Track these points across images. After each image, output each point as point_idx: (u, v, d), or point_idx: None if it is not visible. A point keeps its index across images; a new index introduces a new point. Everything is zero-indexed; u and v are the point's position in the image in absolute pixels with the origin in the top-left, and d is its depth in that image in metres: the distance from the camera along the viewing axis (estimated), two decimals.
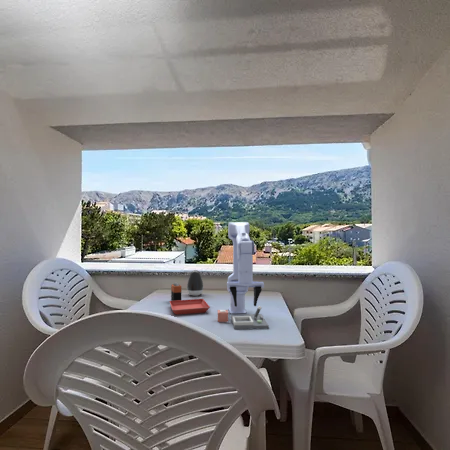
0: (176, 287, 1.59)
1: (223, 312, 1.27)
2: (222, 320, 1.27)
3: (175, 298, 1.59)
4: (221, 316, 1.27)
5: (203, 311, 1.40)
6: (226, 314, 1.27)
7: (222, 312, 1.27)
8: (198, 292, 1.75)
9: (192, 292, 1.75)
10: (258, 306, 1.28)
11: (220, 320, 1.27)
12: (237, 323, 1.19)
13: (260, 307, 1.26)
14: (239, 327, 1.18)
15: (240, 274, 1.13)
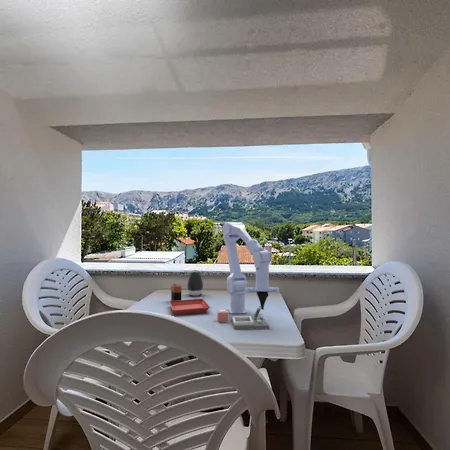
0: (176, 287, 1.59)
1: (223, 312, 1.27)
2: (222, 320, 1.27)
3: (175, 298, 1.59)
4: (221, 316, 1.27)
5: (203, 311, 1.40)
6: (226, 314, 1.27)
7: (222, 312, 1.27)
8: (198, 292, 1.75)
9: (192, 292, 1.75)
10: (258, 306, 1.28)
11: (220, 320, 1.27)
12: (237, 323, 1.19)
13: (260, 307, 1.26)
14: (239, 327, 1.18)
15: (258, 280, 1.26)
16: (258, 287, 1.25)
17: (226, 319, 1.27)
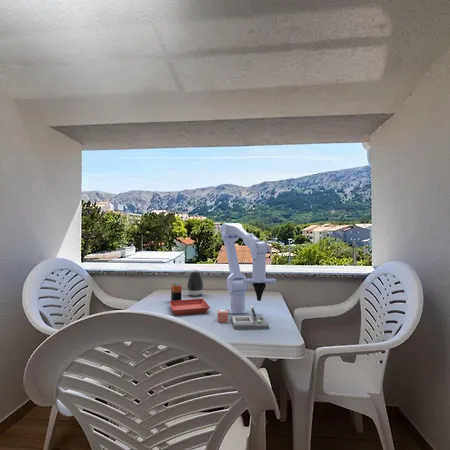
0: (176, 287, 1.59)
1: (223, 312, 1.27)
2: (222, 320, 1.27)
3: (175, 298, 1.59)
4: (221, 316, 1.27)
5: (203, 311, 1.40)
6: (226, 314, 1.27)
7: (222, 312, 1.27)
8: (198, 292, 1.75)
9: (192, 292, 1.75)
10: (250, 307, 1.27)
11: (220, 320, 1.27)
12: (237, 323, 1.19)
13: (252, 306, 1.26)
14: (239, 327, 1.18)
15: (254, 272, 1.26)
16: (255, 278, 1.25)
17: (226, 319, 1.27)
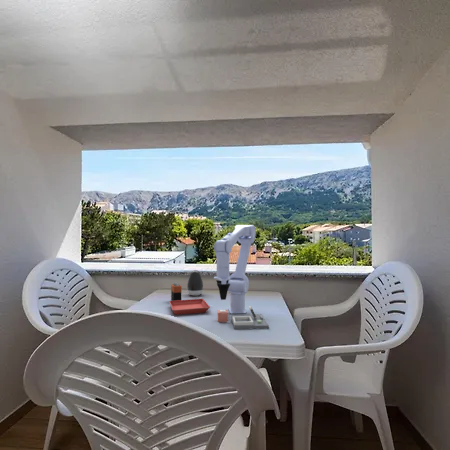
0: (176, 287, 1.59)
1: (223, 312, 1.27)
2: (222, 320, 1.27)
3: (175, 298, 1.59)
4: (221, 316, 1.27)
5: (203, 311, 1.40)
6: (226, 314, 1.27)
7: (222, 312, 1.27)
8: (198, 292, 1.75)
9: (192, 292, 1.75)
10: (249, 307, 1.27)
11: (220, 320, 1.27)
12: (237, 323, 1.19)
13: (250, 307, 1.26)
14: (239, 327, 1.18)
15: None
16: None
17: (226, 319, 1.27)
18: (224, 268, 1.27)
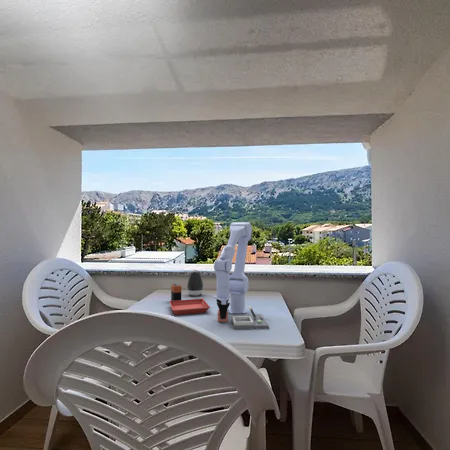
0: (176, 287, 1.59)
1: None
2: (222, 320, 1.27)
3: (175, 298, 1.59)
4: None
5: (203, 311, 1.40)
6: (226, 314, 1.27)
7: None
8: (198, 292, 1.75)
9: (192, 292, 1.75)
10: None
11: (220, 320, 1.27)
12: (237, 323, 1.19)
13: (250, 307, 1.26)
14: (239, 327, 1.18)
15: None
16: None
17: (226, 319, 1.27)
18: (224, 288, 1.27)
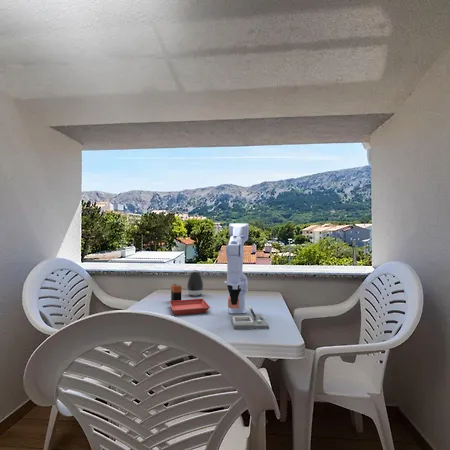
0: (176, 287, 1.59)
1: None
2: (233, 306, 1.23)
3: (175, 298, 1.59)
4: None
5: (203, 311, 1.40)
6: None
7: None
8: (198, 292, 1.75)
9: (192, 292, 1.75)
10: None
11: (230, 306, 1.23)
12: (237, 323, 1.19)
13: (250, 307, 1.26)
14: (239, 327, 1.18)
15: None
16: None
17: (237, 305, 1.23)
18: (235, 273, 1.23)
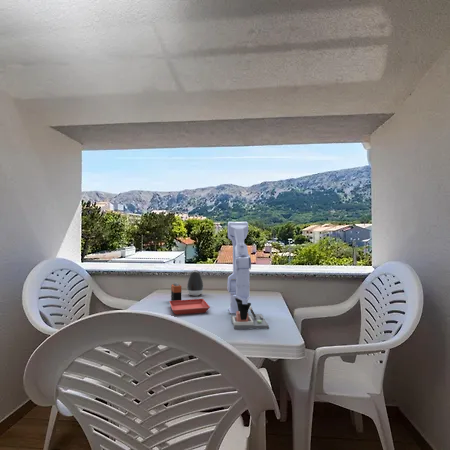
0: (176, 287, 1.59)
1: None
2: None
3: (175, 298, 1.59)
4: None
5: (203, 311, 1.40)
6: None
7: None
8: (198, 292, 1.75)
9: (192, 292, 1.75)
10: None
11: None
12: (237, 323, 1.19)
13: (250, 307, 1.26)
14: (239, 327, 1.18)
15: None
16: None
17: (246, 321, 1.21)
18: (244, 286, 1.20)
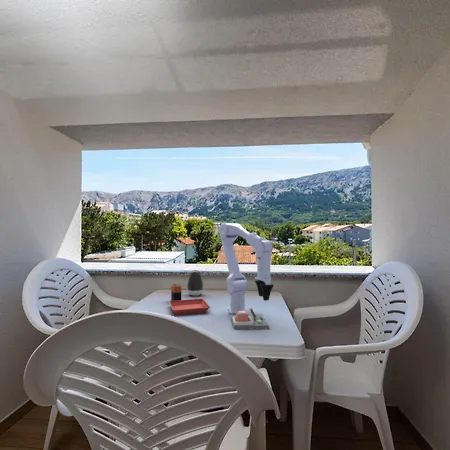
0: (176, 287, 1.59)
1: (243, 313, 1.21)
2: None
3: (175, 298, 1.59)
4: (241, 317, 1.20)
5: (203, 311, 1.40)
6: (246, 316, 1.21)
7: (242, 313, 1.21)
8: (198, 292, 1.75)
9: (192, 292, 1.75)
10: None
11: None
12: (237, 323, 1.19)
13: (250, 307, 1.26)
14: (239, 327, 1.18)
15: None
16: None
17: (246, 321, 1.21)
18: (266, 268, 1.26)
